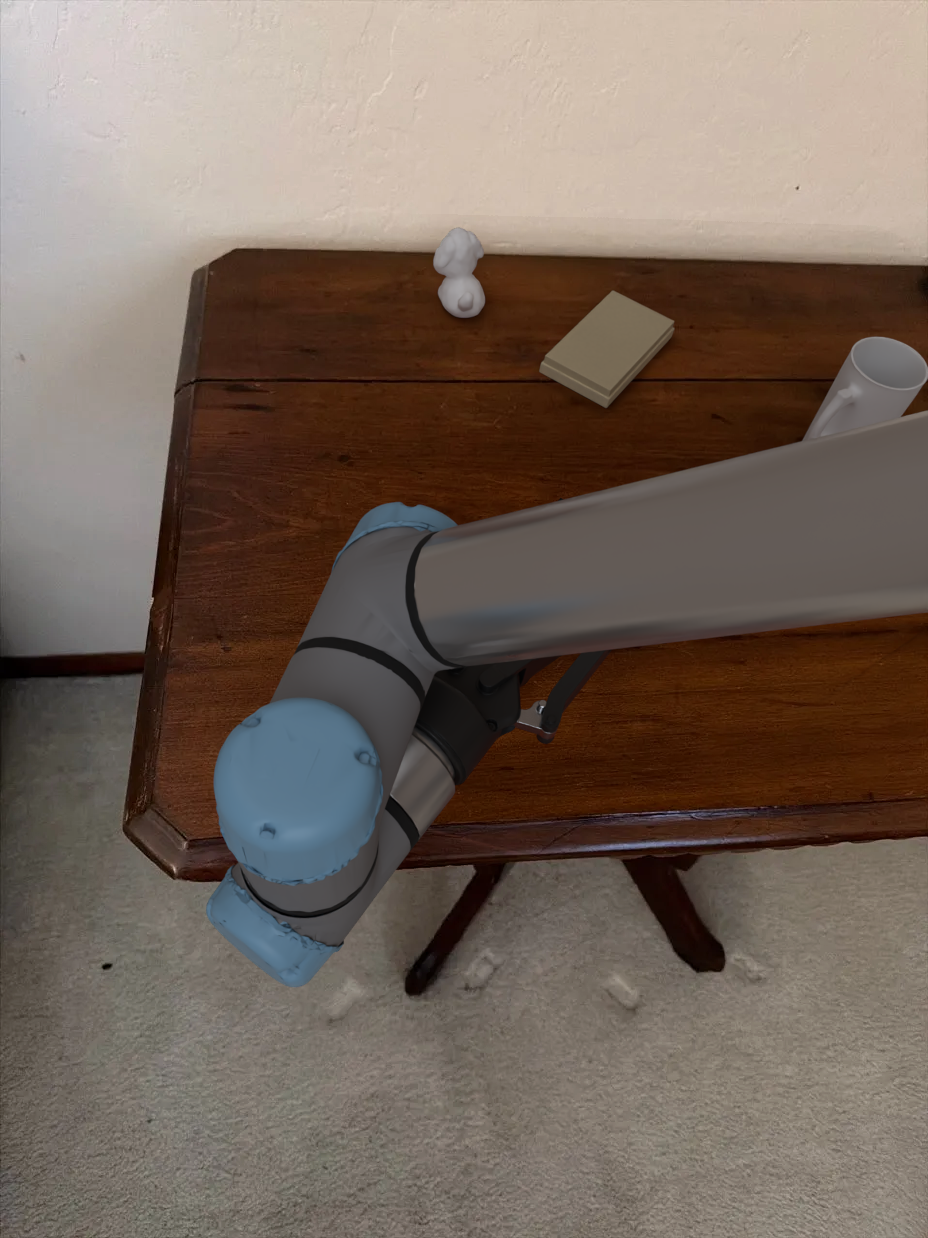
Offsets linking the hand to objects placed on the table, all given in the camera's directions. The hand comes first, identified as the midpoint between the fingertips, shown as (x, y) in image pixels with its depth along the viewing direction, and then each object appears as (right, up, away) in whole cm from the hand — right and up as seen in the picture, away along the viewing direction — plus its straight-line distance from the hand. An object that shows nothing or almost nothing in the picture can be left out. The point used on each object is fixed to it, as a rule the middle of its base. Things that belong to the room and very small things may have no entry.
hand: (594, 530), depth 68 cm
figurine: (-10, +26, +26) cm, 39 cm away
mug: (+24, +8, +18) cm, 31 cm away
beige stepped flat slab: (+5, +21, +24) cm, 32 cm away
